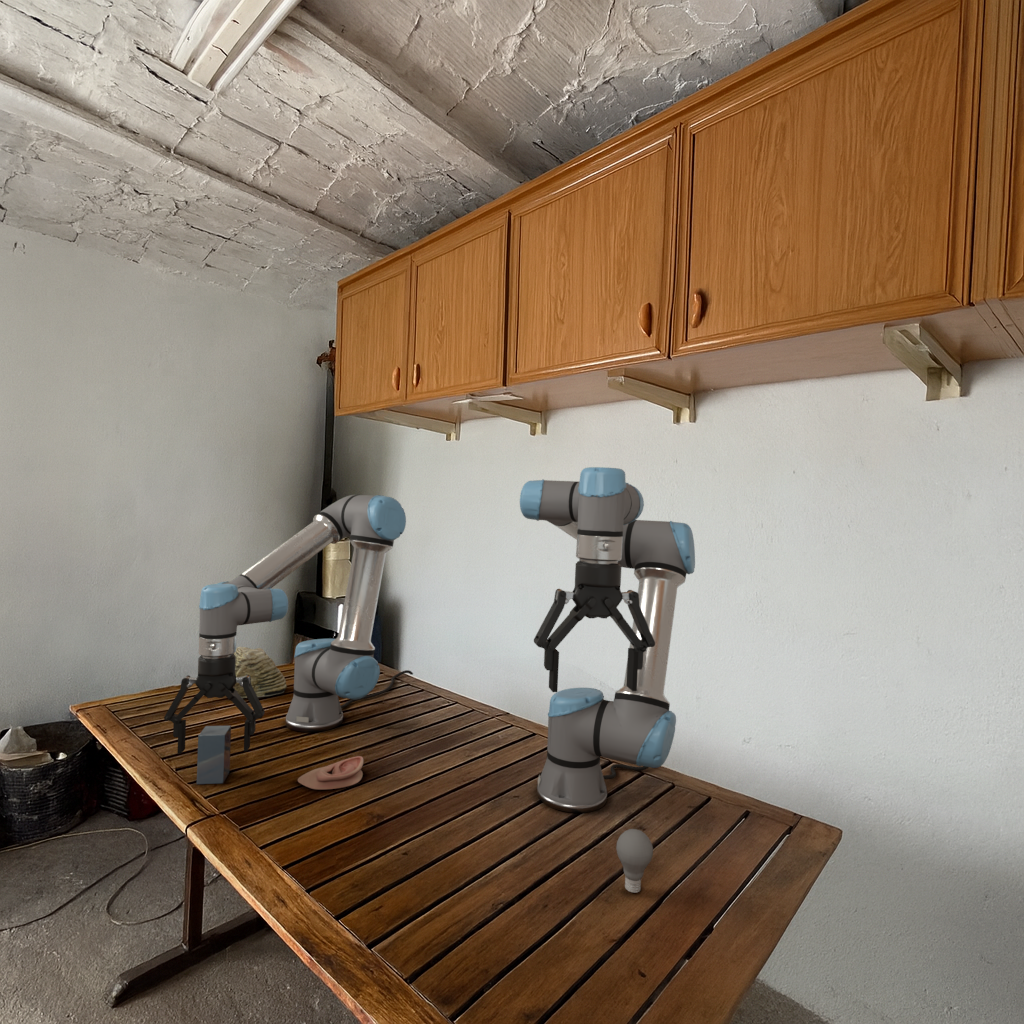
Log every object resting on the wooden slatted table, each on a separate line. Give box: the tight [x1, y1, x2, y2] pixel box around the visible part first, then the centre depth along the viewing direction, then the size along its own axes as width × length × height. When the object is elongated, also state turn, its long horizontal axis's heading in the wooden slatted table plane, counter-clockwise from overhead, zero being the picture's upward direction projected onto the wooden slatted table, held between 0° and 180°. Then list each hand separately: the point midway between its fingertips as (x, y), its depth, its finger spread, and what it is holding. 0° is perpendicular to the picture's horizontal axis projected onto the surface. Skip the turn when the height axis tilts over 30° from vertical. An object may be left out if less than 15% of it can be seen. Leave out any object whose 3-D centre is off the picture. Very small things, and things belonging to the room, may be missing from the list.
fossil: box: [234, 646, 288, 699], centre depth 198 cm, size 9×18×15 cm, turn 132°
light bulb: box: [615, 828, 654, 894], centre depth 106 cm, size 6×6×10 cm
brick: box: [196, 725, 232, 785], centre depth 140 cm, size 6×5×11 cm
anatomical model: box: [297, 755, 364, 791], centre depth 142 cm, size 13×4×12 cm
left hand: (214, 750), depth 140 cm, fingers open, 13 cm apart
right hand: (592, 689), depth 105 cm, fingers open, 13 cm apart
